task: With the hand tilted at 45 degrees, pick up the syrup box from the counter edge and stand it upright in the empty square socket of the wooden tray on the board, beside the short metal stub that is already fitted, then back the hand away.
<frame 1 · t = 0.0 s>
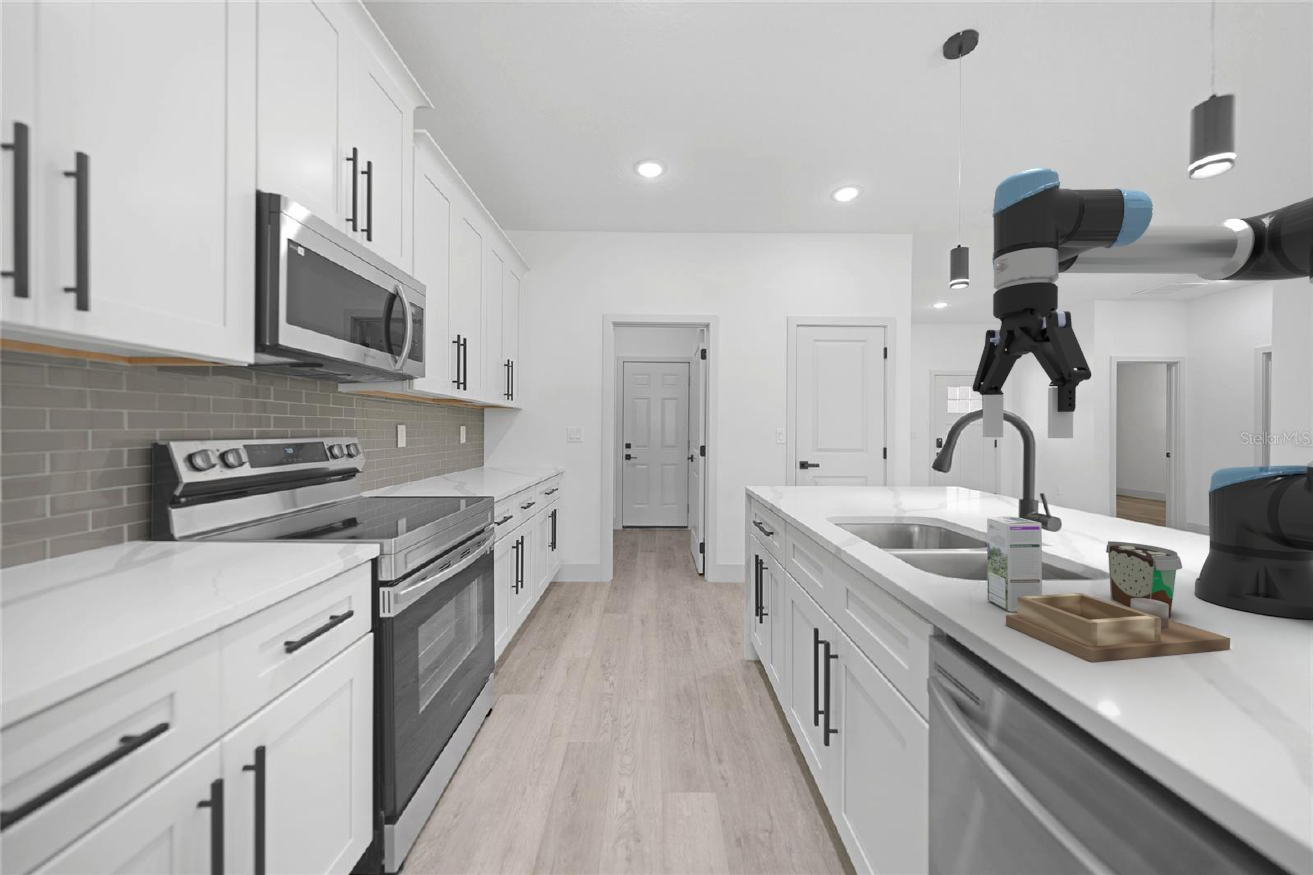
hand: (1023, 438, 75), 28 cm above the countertop, tool pointing down, fingers open, 13 cm apart
wooden tray on board: (1111, 636, 75), on the countertop
food container: (1151, 611, 86), on the countertop
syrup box: (1013, 607, 88), on the countertop
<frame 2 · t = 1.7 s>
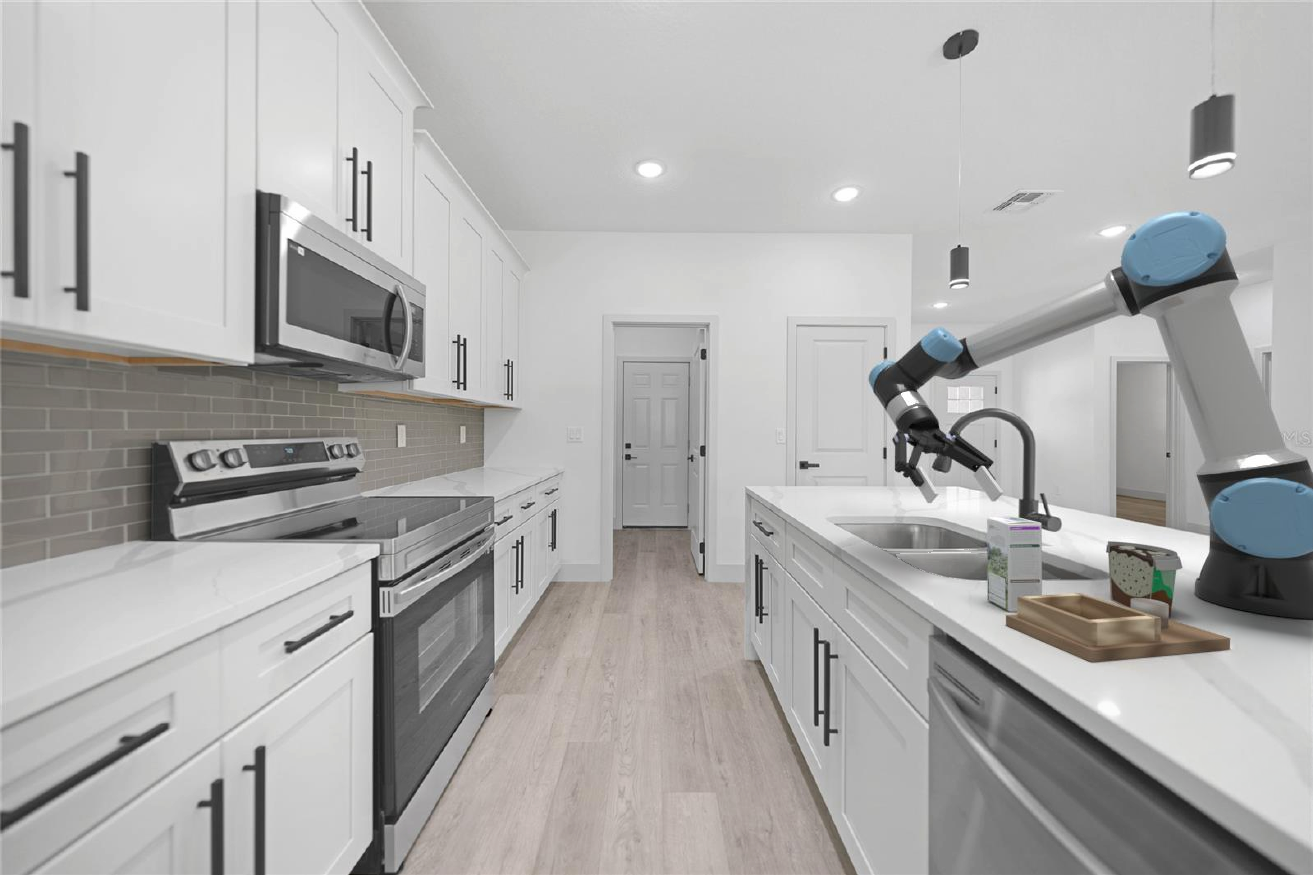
hand: (966, 497, 98), 17 cm above the countertop, tool tilted 45°, fingers open, 13 cm apart
nothing on the countertop moved.
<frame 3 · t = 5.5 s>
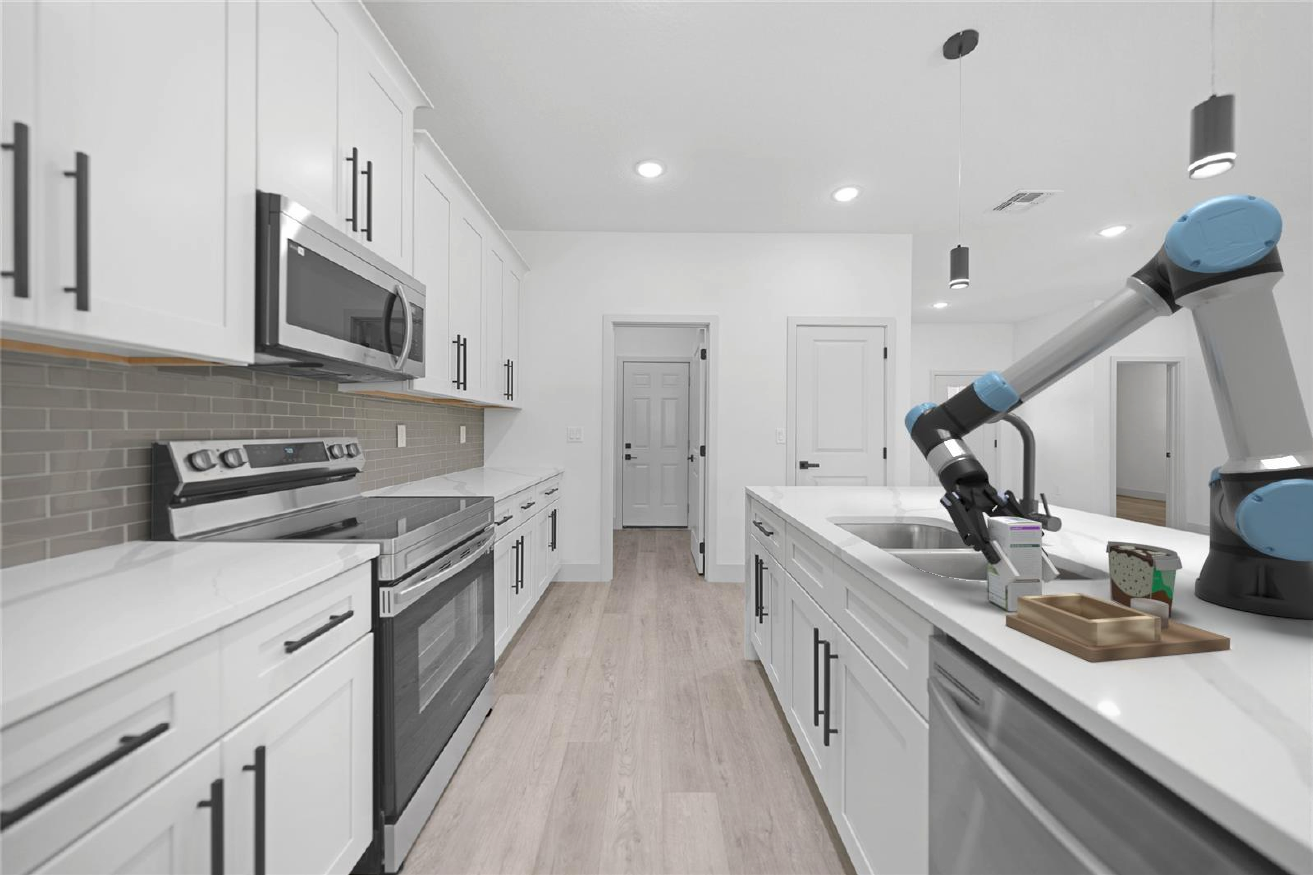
hand: (1032, 579, 85), 5 cm above the countertop, tool tilted 45°, fingers closed on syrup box, 7 cm apart
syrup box: (1013, 607, 88), on the countertop, touching gripper
everything else where it was.
when the fingers open (9 cm above the countertop, at t = 10.7 s): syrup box drops 2 cm, resting on wooden tray on board.
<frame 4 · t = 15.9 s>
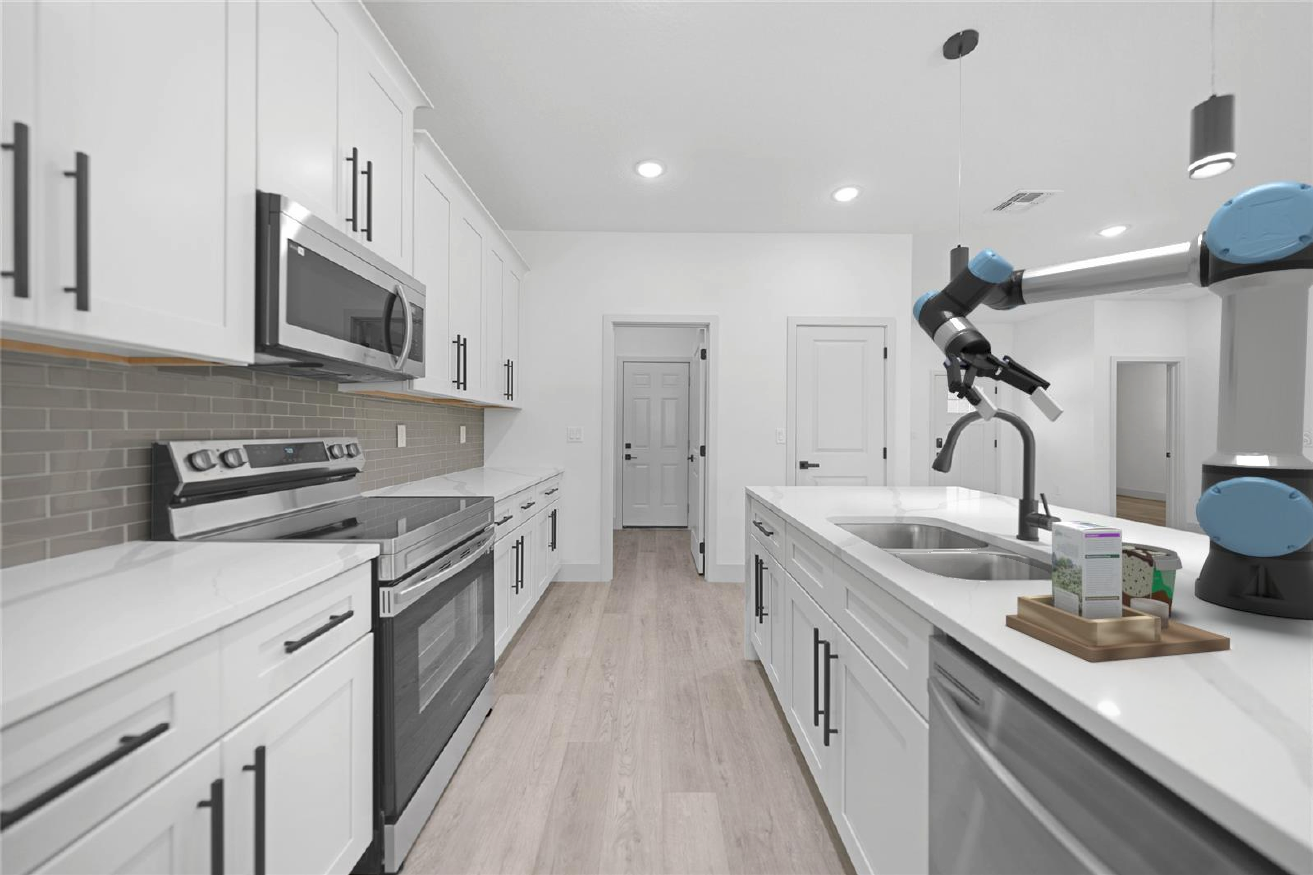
hand: (1025, 416, 95), 32 cm above the countertop, tool tilted 45°, fingers open, 13 cm apart
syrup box: (1085, 629, 74), point 1 cm above the countertop, touching wooden tray on board
everything else where it was.
at the end: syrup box 0.2 cm from the target spot on the wooden tray on board, point 1.3 cm above the wooden tray on board's base; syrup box tilted 0°; the gripper is holding nothing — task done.
